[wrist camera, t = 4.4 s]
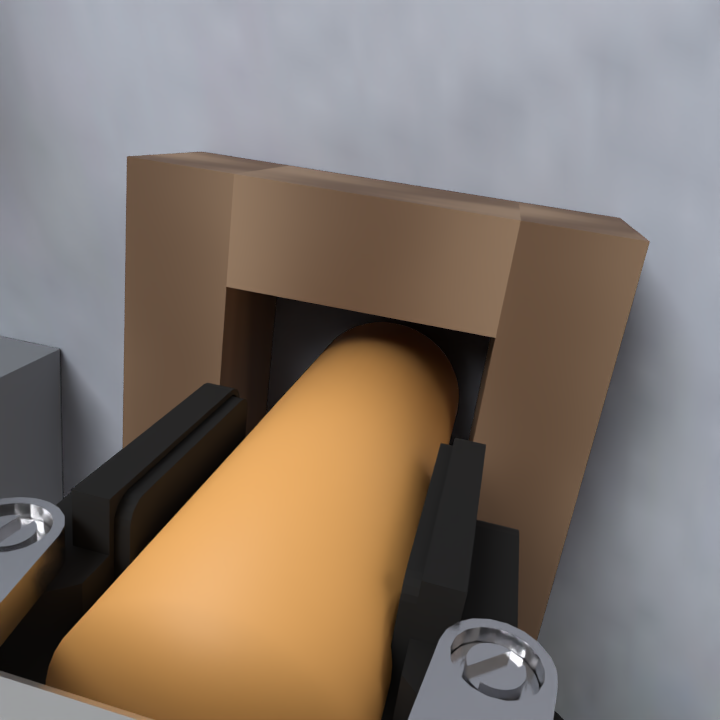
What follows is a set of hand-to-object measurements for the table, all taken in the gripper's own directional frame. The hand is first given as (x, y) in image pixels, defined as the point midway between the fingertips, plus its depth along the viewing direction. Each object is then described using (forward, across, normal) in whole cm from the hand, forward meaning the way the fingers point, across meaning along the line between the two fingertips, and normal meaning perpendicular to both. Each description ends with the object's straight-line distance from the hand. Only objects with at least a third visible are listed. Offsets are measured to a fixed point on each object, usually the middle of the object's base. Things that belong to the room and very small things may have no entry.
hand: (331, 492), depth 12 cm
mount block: (+6, +1, 0) cm, 6 cm away
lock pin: (+5, 0, 0) cm, 5 cm away
